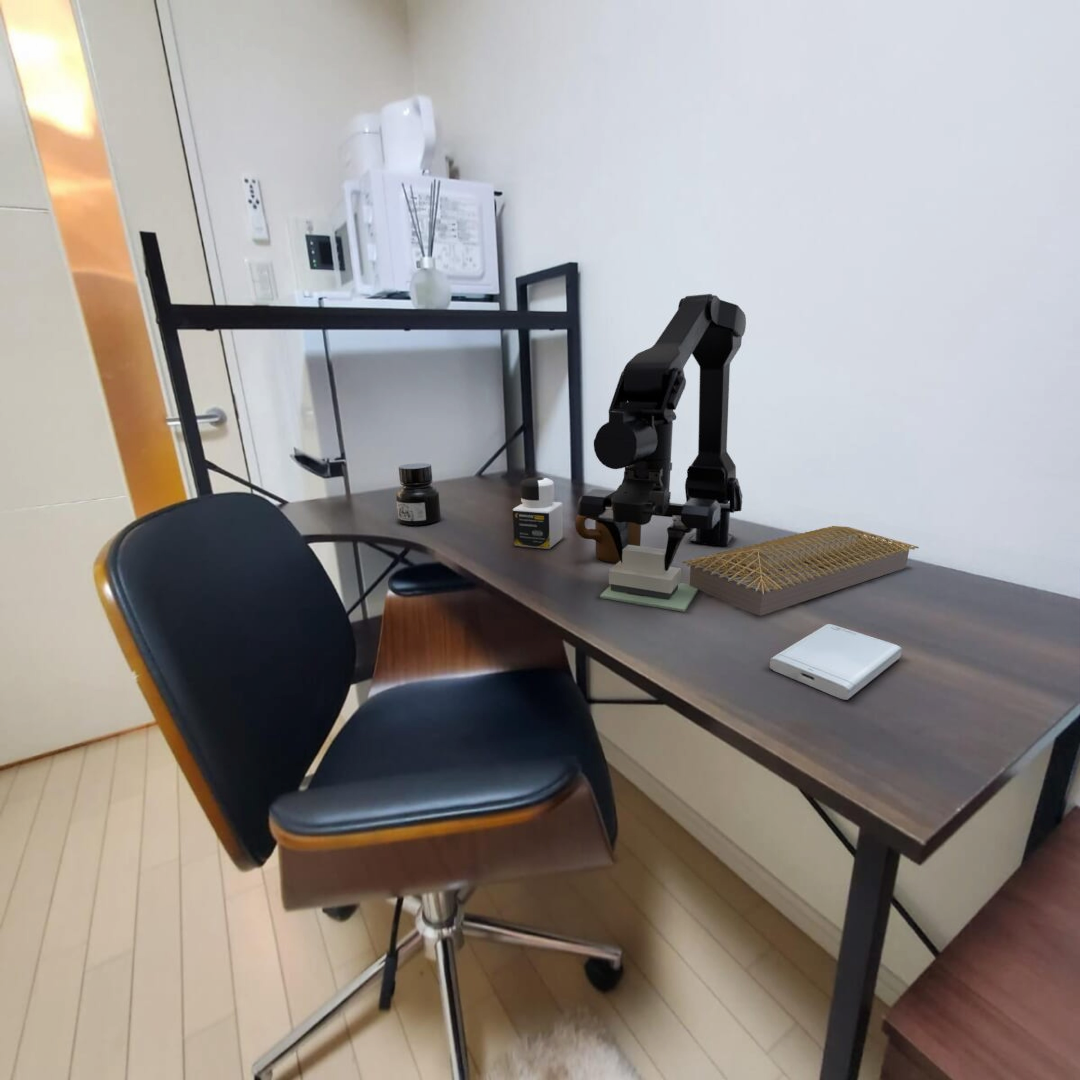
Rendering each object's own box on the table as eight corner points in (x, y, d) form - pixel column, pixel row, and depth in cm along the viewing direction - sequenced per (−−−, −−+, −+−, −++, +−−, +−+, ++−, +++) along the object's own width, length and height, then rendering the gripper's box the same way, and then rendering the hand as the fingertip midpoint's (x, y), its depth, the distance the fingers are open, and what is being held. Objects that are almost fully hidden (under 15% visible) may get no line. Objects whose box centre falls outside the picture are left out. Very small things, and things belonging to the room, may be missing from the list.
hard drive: (827, 622, 68) (770, 655, 61) (902, 646, 62) (849, 686, 55) (825, 634, 69) (769, 669, 61) (900, 660, 63) (847, 702, 55)
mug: (588, 572, 91) (587, 515, 88) (564, 558, 98) (564, 505, 95) (649, 559, 96) (650, 504, 93) (623, 547, 103) (624, 496, 100)
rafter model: (829, 545, 101) (834, 511, 99) (915, 568, 89) (922, 530, 87) (680, 584, 84) (682, 544, 82) (760, 619, 72) (765, 574, 70)
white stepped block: (620, 578, 87) (621, 540, 85) (679, 587, 83) (681, 548, 81) (608, 590, 82) (609, 550, 81) (670, 600, 78) (672, 559, 77)
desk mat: (621, 576, 89) (621, 573, 89) (699, 588, 84) (699, 585, 83) (599, 597, 81) (599, 594, 81) (684, 612, 76) (684, 608, 76)
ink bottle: (389, 522, 124) (383, 467, 120) (422, 513, 130) (417, 461, 127) (417, 529, 118) (412, 471, 114) (450, 519, 124) (446, 464, 121)
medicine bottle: (513, 546, 105) (510, 482, 102) (528, 535, 111) (526, 474, 108) (549, 549, 103) (548, 484, 99) (563, 538, 109) (562, 476, 105)
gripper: (560, 462, 74) (561, 575, 79) (706, 472, 66) (698, 598, 71) (593, 450, 84) (592, 551, 88) (725, 458, 75) (716, 569, 80)
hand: (644, 566), depth 82 cm, fingers closed on white stepped block, 6 cm apart
